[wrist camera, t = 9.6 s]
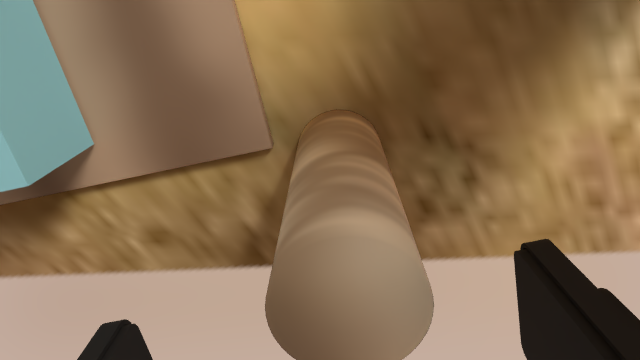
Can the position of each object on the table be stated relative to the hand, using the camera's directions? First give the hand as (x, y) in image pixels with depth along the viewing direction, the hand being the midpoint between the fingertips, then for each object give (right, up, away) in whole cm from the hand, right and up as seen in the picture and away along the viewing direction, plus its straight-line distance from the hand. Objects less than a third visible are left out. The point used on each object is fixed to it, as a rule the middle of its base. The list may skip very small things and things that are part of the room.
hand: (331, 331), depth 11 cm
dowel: (+1, +5, +11) cm, 12 cm away
